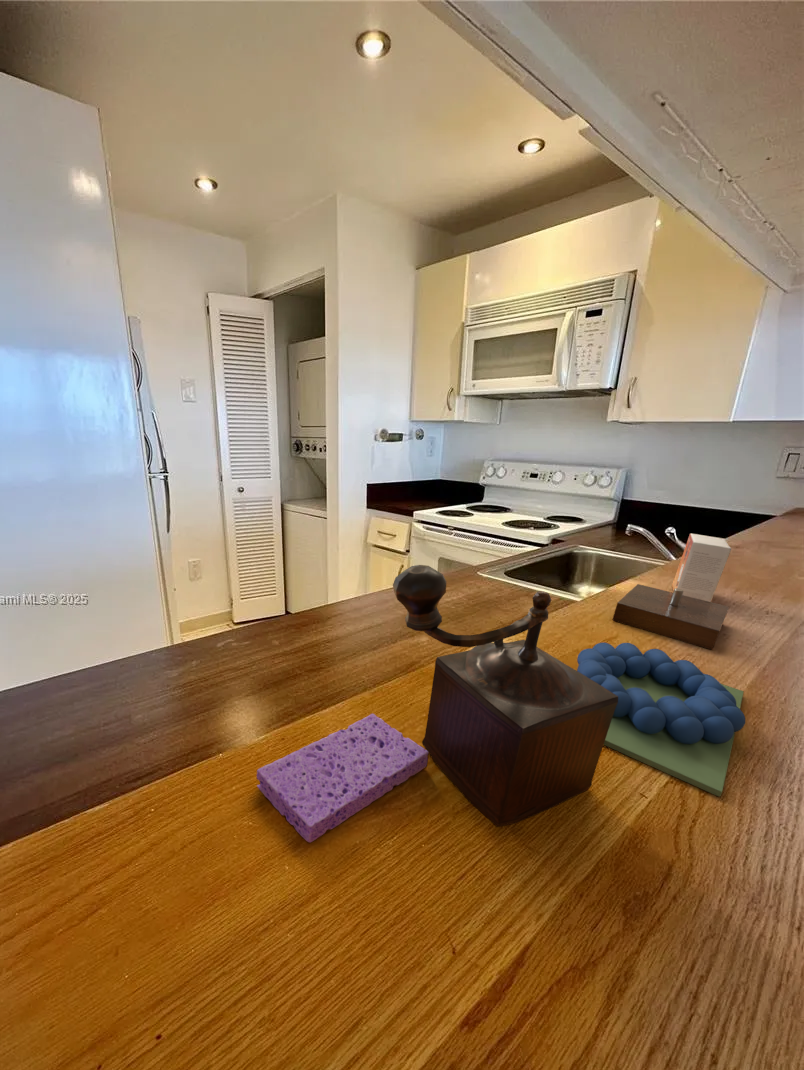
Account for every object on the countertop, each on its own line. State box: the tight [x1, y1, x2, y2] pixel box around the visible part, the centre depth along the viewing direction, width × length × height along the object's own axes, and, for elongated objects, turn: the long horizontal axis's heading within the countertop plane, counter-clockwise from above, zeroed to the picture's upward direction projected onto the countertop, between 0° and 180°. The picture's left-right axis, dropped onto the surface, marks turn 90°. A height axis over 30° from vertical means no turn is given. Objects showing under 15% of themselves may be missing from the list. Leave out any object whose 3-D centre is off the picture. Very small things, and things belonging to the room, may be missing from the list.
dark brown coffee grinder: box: [392, 564, 618, 828], centre depth 37 cm, size 16×11×18 cm
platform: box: [611, 583, 730, 651], centre depth 73 cm, size 13×13×6 cm
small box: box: [671, 533, 732, 602], centre depth 85 cm, size 8×6×10 cm
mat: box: [603, 672, 745, 798], centre depth 52 cm, size 22×15×1 cm
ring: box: [576, 642, 746, 744], centre depth 52 cm, size 18×15×3 cm
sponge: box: [256, 713, 429, 843], centre depth 39 cm, size 7×13×2 cm, turn 131°
